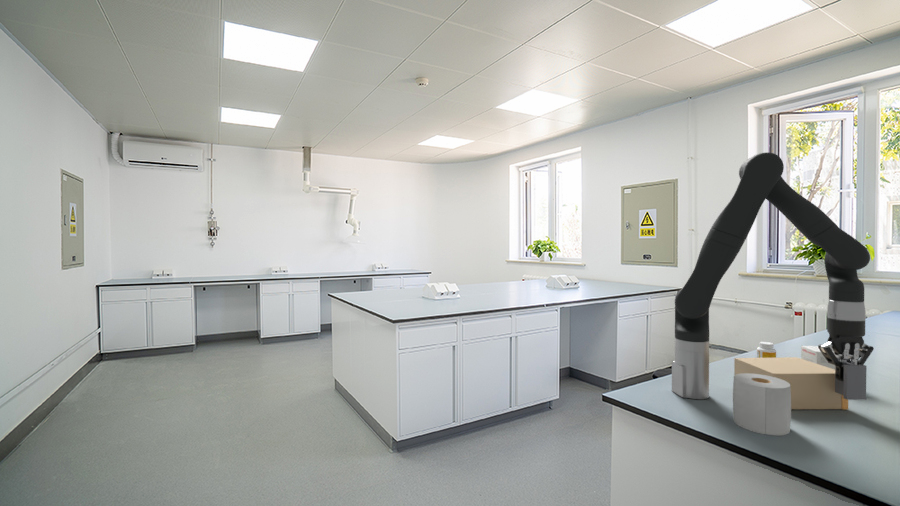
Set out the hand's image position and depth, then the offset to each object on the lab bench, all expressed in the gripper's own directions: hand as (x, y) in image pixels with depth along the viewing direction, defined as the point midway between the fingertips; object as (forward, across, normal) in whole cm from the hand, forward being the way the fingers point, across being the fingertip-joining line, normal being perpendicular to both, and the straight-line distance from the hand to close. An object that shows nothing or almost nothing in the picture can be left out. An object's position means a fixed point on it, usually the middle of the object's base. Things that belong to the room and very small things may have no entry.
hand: (845, 380), depth 114 cm
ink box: (+9, +14, +24) cm, 29 cm away
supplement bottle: (+9, +6, +38) cm, 39 cm away
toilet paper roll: (+9, -28, -7) cm, 30 cm away
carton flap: (+9, -7, 0) cm, 11 cm away
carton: (+9, -7, +11) cm, 16 cm away
